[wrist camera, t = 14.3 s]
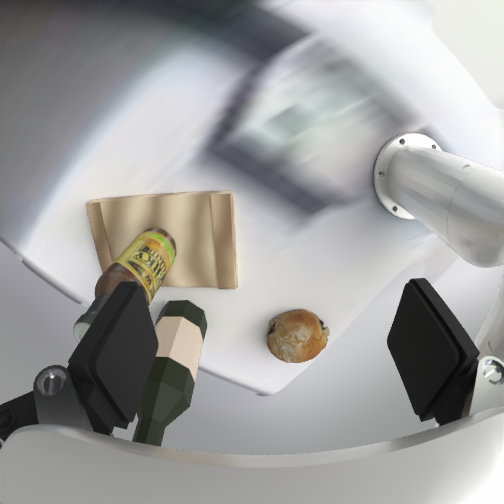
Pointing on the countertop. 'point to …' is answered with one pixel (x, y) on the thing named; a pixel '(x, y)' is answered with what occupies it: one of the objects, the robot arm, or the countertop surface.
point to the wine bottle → (171, 370)
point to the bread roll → (296, 336)
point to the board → (173, 233)
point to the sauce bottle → (133, 272)
